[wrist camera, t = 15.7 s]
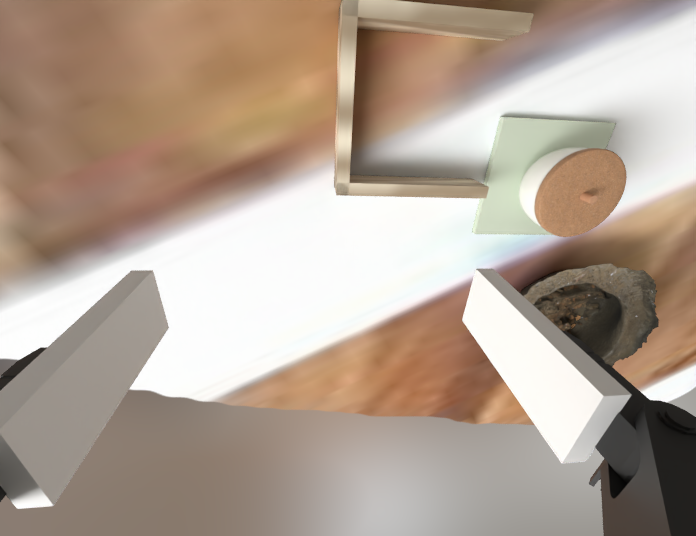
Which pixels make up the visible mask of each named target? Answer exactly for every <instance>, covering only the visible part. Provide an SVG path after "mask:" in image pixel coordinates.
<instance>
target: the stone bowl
mask: <svg viewBox="0 0 696 536" xmlns="http://www.w3.org/2000/svg"><path fill="white" fill-rule="evenodd" d="M655 287H656V284H655V283H654V280H653V279H652V278H651V277H650V276H649V275H648V274H647V273H646V272H645V271H643V270H640V271H636V270H630V269H629V268H618V267H616V266H613V264H601V265H592V266H588V267H586V268H581V269H573V270H572V269H569V270H565V271H560V272H555V273H552V274H549V275H548V276H546V277H544V278H542V279H540V280H538V281H536V282H535V283H533V284H531V285H529V286H527V287H526V288H524V289H523V290H522V291H521V293H520V294H521V295H522V296H523V297H525V298H526V299H527V300H528V301H529V302H530V303H531V304H532V305H533V306H534V307H536V308H537V309H538V310H539V311H540V312H541V313H542V314H543V315H544V316H545V317H547V318H548V319H549V320H550V321H551V322H552V323H553V324H554V325H555V326H557V327H558V328H559V329H560V330H561V331H566V332H568V333H570V334H571V335H573V336H575V337H576V338H578V339H580V340H581V341H583V342H584V343H585V344H586V345H587V346H588V347H589V348H591V349H592V350H593V351H594V353H595V354H597V355H599V356H600V357H601V358H602V359H603V360H604V361H605V363H606V364H609V365H610V366H611V367H612V366H613V365H614V363H615V362H616V361H618V360H619V359H622V360H623V359H624V358H628V357H629V356H631V355H633V354H634V353H635V352H636V351H637V349H638V348H642V343H643V342H645V343H647V337H648V335H649V334H650V333H651V332H652V329H654V328H656V327H658V318H657V317H656V313H655V308H656V305H655V304H654V303H653V302H655V294H656V292H657V290H655ZM577 315H579V316H581V319H579V320H578V321H576V319H575V317H577ZM572 324H576V325H575V327H574V328H572V329H570V328H571V325H572Z"/></svg>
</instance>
